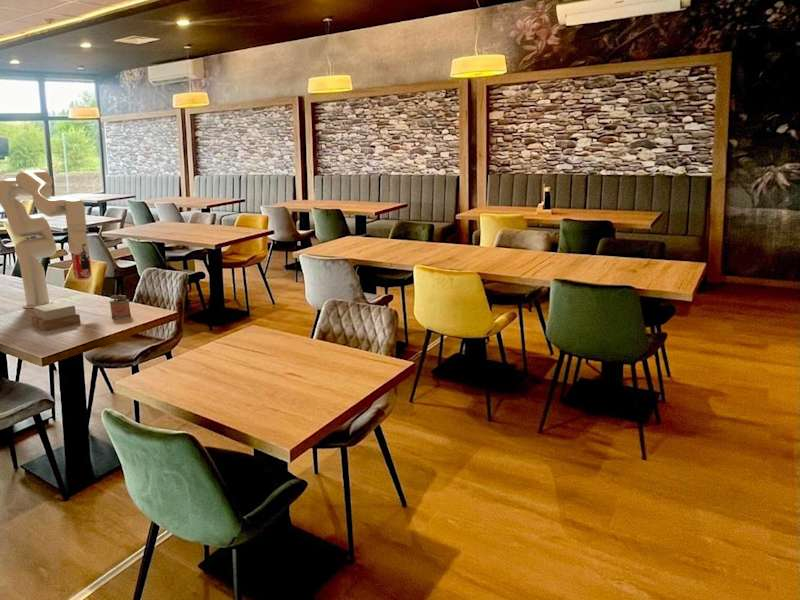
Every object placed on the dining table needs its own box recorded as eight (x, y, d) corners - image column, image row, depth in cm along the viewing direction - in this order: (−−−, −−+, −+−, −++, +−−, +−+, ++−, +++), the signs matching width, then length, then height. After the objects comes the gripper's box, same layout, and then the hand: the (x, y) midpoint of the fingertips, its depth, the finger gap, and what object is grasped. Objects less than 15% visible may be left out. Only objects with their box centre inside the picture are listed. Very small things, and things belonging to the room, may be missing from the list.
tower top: (34, 315, 270) (33, 306, 269) (64, 310, 279) (62, 301, 278) (46, 320, 262) (44, 311, 261) (75, 314, 271) (74, 305, 270)
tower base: (32, 325, 271) (31, 316, 270) (66, 317, 281) (65, 309, 280) (46, 331, 262) (44, 321, 261) (80, 323, 272) (79, 314, 271)
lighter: (131, 315, 284) (129, 293, 281) (130, 317, 280) (127, 295, 278) (112, 316, 282) (109, 294, 279) (111, 318, 279) (108, 296, 276)
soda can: (95, 277, 286) (92, 250, 282) (86, 280, 279) (83, 253, 276) (80, 276, 286) (77, 250, 283) (71, 280, 279) (67, 253, 276)
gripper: (59, 226, 279) (64, 266, 284) (76, 231, 268) (82, 272, 273) (77, 225, 285) (82, 263, 289) (94, 229, 274) (99, 269, 279)
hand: (82, 267), depth 281 cm, fingers closed on soda can, 7 cm apart
